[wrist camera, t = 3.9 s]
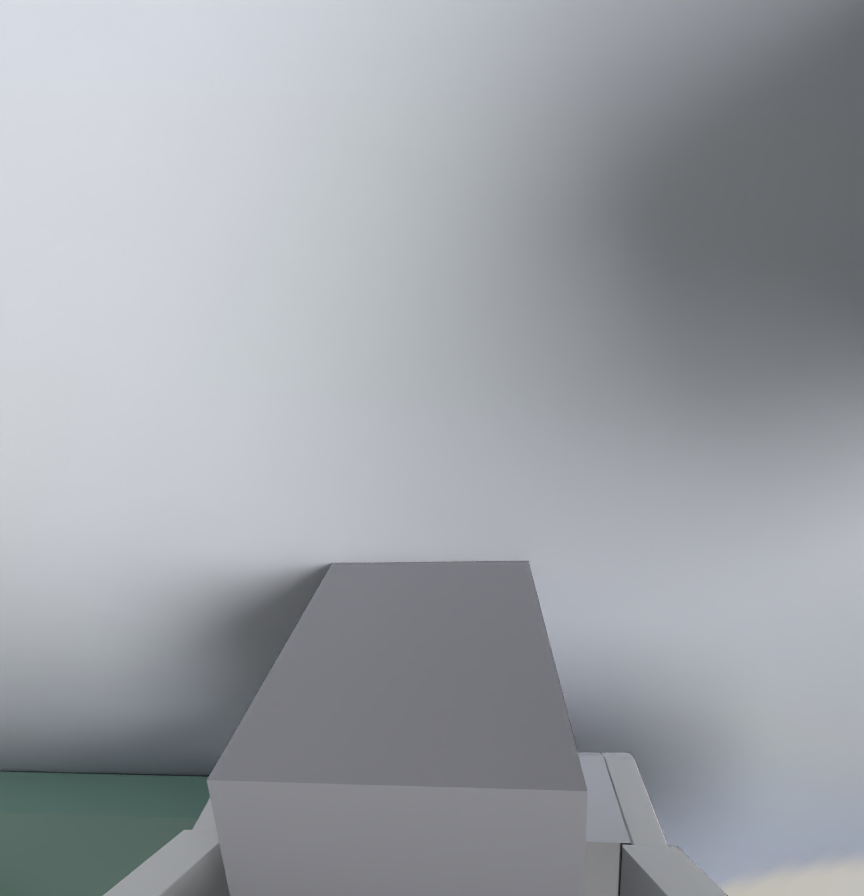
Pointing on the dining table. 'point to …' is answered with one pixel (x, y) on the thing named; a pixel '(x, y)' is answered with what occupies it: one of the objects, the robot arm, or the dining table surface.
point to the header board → (88, 828)
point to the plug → (407, 745)
